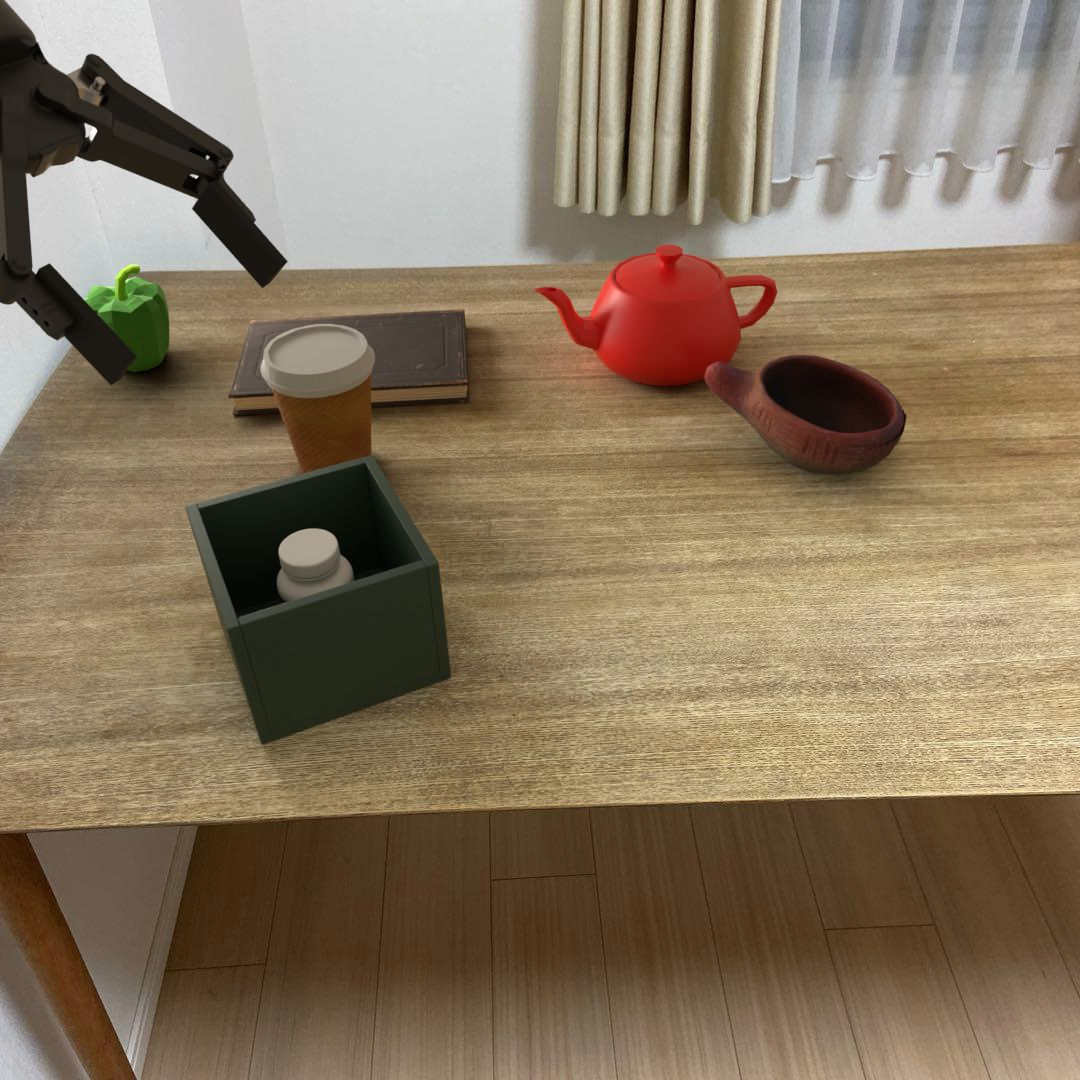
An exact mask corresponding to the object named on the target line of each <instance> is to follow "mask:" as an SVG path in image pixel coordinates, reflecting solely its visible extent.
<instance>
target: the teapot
mask: <svg viewBox="0 0 1080 1080" xmlns="http://www.w3.org/2000/svg"><path fill="white" fill-rule="evenodd" d="M654 251H655V252H650V253H644V254H640V255H634V256H631V257H629V258H626V259H625V260H623V261H620V262H618V263H617V264H616V265H615V266H614V267H613V269H612V270H611V271H610V273H609V275H608V276H607V278H606V280H605V281H604V283H603V285H602V287H601V289H600V291H599V294H598V296H597V297H596V300H595V302H594V305H593V306H592V308H591V312H590V316H580V315H579V314H578V313H577V311H576V310H575V308H574V305H573V303H572V300H571V299H570V297H569V296H568V295H567V294H566V292H565V290H563V289H560V288H558V287H555V286H542V287H537V288H535V289H534V290H533V291H534V292H535V293H538V294H539V295H541V296H542V297H544V298H545V299H546V300H547V301H549V302H550V303H551V304H553V305H554V306H555V307H556V309H557V312H558V314H559V317H560V320H561V323H562V325H563V327H564V328H565V330H566V332H567V334H568V335H569V337H570V339H571V341H572V342H573V343H574V344H576V345H578V346H580V347H585V348H588V349H592V350H593V352H594V353H595V354H596V356H597V358H598V359H599V361H601V362H602V364H603V365H604V366H605V367H606V368H607V369H608V370H609V371H610V372H612V373H614V374H616V375H618V376H620V377H622V378H625V379H627V380H628V381H631V382H633V383H638V384H642V385H648V386H652V387H678V386H683V385H688V384H691V383H695V382H699V381H703V380H705V377H704V376H705V373H706V370H707V367H708V366H710V364H713V363H716V362H718V361H719V362H723V363H726V364H730V363H731V361H732V359H733V357H734V355H735V353H736V351H737V350H738V348H739V345H740V343H741V340H742V329H743V330H744V329H746V328H749V327H753V326H754V325H755V324H756V323H758V322H759V321H760V320H761V319H762V318H763V317H765V315H767V313H768V312H769V310H771V307H772V306H773V305H774V304H775V302H776V301H775V300H776V298H777V296H778V295H777V294H778V288H777V284H776V280H775V279H773V278H772V277H768V276H766V275H764V274H742V275H731V276H726V274H725V273H724V271H723V270H722V269H721V268H720V267H719V266H718V265H716V264H715V263H713V262H712V261H711V260H710V261H709V260H707V259H704V258H702V257H699V256H697V255H692V254H686V253H684V250H683V248H682V247H681V246H679V245H677V244H670V243H669V244H668V243H667V244H665V243H664V244H661V245H658V246H656V247H655V250H654ZM745 287H763V288H764V289H763V293H762V296H761V297H760V298H759V300H758V301H757V302H756V304H755V306H754V307H753V308H751V310H750V311H749V312H747V314H744V315H740V316H739V313H738V309H737V306H736V303H735V300H734V297H733V294H732V291H731V289H735V288H745Z"/></svg>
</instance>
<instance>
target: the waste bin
mask: <svg viewBox="0 0 1080 1080" xmlns="http://www.w3.org/2000/svg"><path fill="white" fill-rule="evenodd" d="M184 508H185V512H186V515H187V518H188V522H189V524H190V528H191V531H192V534H193V538H194V541H195V545H196V547H197V551H198V554H199V558H200V560H201V561H200V562H201V565H202V568H203V570H204V574H205V577H206V580H207V583H208V586H209V591H210V593H211V596H212V600H213V603H214V606H215V609H216V613H217V616H218V619H219V622H220V626H221V628H222V631H223V634H224V638H225V640H226V643H227V647H228V649H229V652H230V655H231V658H232V661H233V664H234V667H235V671H236V673H237V676H238V679H239V682H240V685H241V688H242V691H243V694H244V697H245V700H246V702H247V706H248V709H249V712H250V715H251V718H252V721H253V724H254V727H255V731H256V734H257V735H258V736H257V737H258V739H259V741H260V745H266V744H268V743H271V742H275V741H276V740H277V741H278V740H279V739H282V738H284V737H287V736H291V735H293V734H296V733H300V732H302V731H305V730H308V729H310V728H313V727H315V726H318V725H321V724H324V723H327V722H330V721H332V720H337V719H338V718H342V717H344V716H347V715H349V714H352V713H356V712H358V711H361V710H364V709H367V708H369V707H371V706H375V705H378V704H380V703H383V702H386V701H389V700H392V699H394V698H397V697H400V696H404V695H406V694H408V693H411V692H414V691H417V690H419V689H423V688H426V687H429V686H431V685H434V684H437V683H439V682H443V681H445V680H448V679H450V678H452V673H451V664H450V663H451V662H450V654H449V645H448V644H449V643H448V635H447V625H446V616H445V609H444V599H443V589H442V579H441V571H440V563H439V561H438V559H437V558H436V555H434V553H433V551H432V549H431V548H430V546H429V544H428V543H427V542H426V540H425V538H424V536H423V535H422V533H421V532H420V530H419V529H418V527H417V525H416V523H415V522H414V520H413V519H412V517H411V516H410V514H409V512H408V511H407V509H406V507H405V506H404V504H403V502H402V501H401V499H400V498H399V496H398V494H397V493H396V491H395V490H394V488H393V486H392V484H391V483H390V481H389V480H388V478H387V476H386V475H385V473H384V471H383V470H382V468H381V467H380V465H379V464H378V462H377V460H376V458H375V457H374V455H373V454H371V455H369V456H366V457H362V458H358V459H355V460H351V461H347V462H344V463H340V464H336V465H333V466H329V467H325V468H322V469H318V470H314V471H311V472H307V473H303V474H302V473H300V474H296V475H292V476H289V477H286V478H282V479H278V480H274V481H271V482H268V483H264V484H259V485H256V486H252V487H249V488H245V489H241V490H238V491H234V492H230V493H227V494H222V495H219V496H215V497H212V498H208V499H205V500H200V501H198V502H195V503H189V504H187V505H185V506H184ZM305 529H322V530H326V531H328V532H330V533H332V534H333V535H334V536H335V538H336V539H337V542H338V546H339V550H340V555H342V556H343V557H345V558H346V559H347V560H348V562H349V563H350V565H351V567H352V570H353V574H354V579H355V581H353V582H350V583H347V584H344V585H340V586H337V587H334V588H331V589H328V590H325V591H321V592H318V593H315V594H312V595H309V596H305V597H302V598H299V599H296V600H293V601H289V602H286V603H283V604H281V601H280V597H279V593H278V589H277V577H278V574H279V572H280V570H281V568H282V567H281V564H280V558H279V547H280V545H281V543H282V542H283V540H284V539H285V538H287V537H288V536H289V535H291V534H293V533H295V532H297V531H301V530H305Z"/></svg>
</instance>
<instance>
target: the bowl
mask: <svg viewBox="0 0 1080 1080" xmlns="http://www.w3.org/2000/svg"><path fill="white" fill-rule="evenodd" d="M704 377H705V379H704V382H705V383H706V385H707V386H708V388H709V389H710V391H711V392H712V393H713V394H714V395H715V396H716V397H717V398H719V399H720V400H721V401H722V402H723V403H725V404H726V405H727V406H728V407H730V408H731V409H732V410H733V411H735V412H736V413H737V414H739V416H741V418H743V419H744V420H745V421H746V422H748V424H749V426H751V427H752V428H753V429H754V430H755V431H756V432H757V434H758V436H760V438H761V439H762V440H763V441H764V442H765V444H766V445H767V446H768V447H769V448H770V449H771V450H772V451H773V452H774V453H775V454H776V455H777V456H778V457H780V458H781V459H782V460H784V461H786V462H787V463H789V464H790V465H792V466H794V467H795V468H798V469H799V470H803V471H806V472H808V473H814V474H821V475H831V476H833V475H835V476H836V475H846V474H847V475H848V474H855V473H860V472H863V471H867V470H869V469H871V468H873V467H875V466H877V465H879V464H880V463H881V462H883V461H884V460H885V459H886V458H888V457H889V455H890V454H891V453H892V452H893V451H894V449H895V447H896V446H897V445H898V444H899V442H900V441H901V438H902V436H903V434H904V431H905V427H906V422H907V414H906V412H905V410H904V408H902V406H901V403H900V401H899V400H898V398H896V396H895V395H894V394H893V393H892V392H891V390H889V388H888V387H887V386H885V385H884V384H883V383H882V382H880V381H879V380H878V379H877V378H874V377H873V376H871V375H869V374H867V373H866V372H863V371H862V370H859V369H857V368H856V367H853V366H851V365H848V364H846V363H842V362H840V361H837V360H834V359H831V358H827V357H824V356H823V357H822V356H818V355H811V354H809V355H807V354H787V355H782V356H779V357H776V358H774V359H771V360H770V361H768V362H766V363H764V364H763V365H762V366H760V367H759V368H758V369H753V370H750V371H749V370H748V371H747V370H743V369H740V368H738V367H735V366H733V365H732V364H730V363H728V364H726V363H723V362H719V361H718V362H716V363H713V364H710V366H708V367H707V370H706V373H705V376H704Z"/></svg>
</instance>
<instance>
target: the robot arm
mask: <svg viewBox="0 0 1080 1080" xmlns="http://www.w3.org/2000/svg"><path fill="white" fill-rule="evenodd" d="M85 124H86V125H88V126H91V127H92V129H91V131H90V133H89V135H87V130H86V125H85ZM86 135H87V136H86ZM207 156H208V158H207ZM76 157H77V158H79V159H82V160H84V161H86V162H90V163H94V162H98V161H101V162H105V163H107V164H109V165H111V166H114V167H117V168H119V169H121V170H125V171H127V172H129V173H132V174H134V175H137V176H139V177H141V178H144V179H147V180H148V181H152V182H154V183H157V184H159V185H161V186H164V187H166V188H170V189H172V190H174V191H176V192H179V193H182V194H184V195H186V196H189V197H191V198H194V199H196V201H195V203H194V204H193V206H192V207H191V210H192V211H193V212H194V213H195V215H197V216H198V218H199V219H200V220H201V222H203V223H204V225H206V227H207V228H208V229H209V230H210V231H211V232H212V233H213V235H214V236H215V237H216V238H217V239H218V240H219V242H220V243H221V244H222V245H223V246H224V247H225V248H226V249H227V251H228V252H229V253H230V254H231V255H232V256H233V257H234V258H235V260H236V261H238V263H239V264H240V265H241V266H242V267H243V268H244V269H245V271H246V272H247V273H248V274H249V275H250V277H251V278H253V280H254V281H255V282H256V283H257V284H258V285H259V286H260V288H261V289H263V288H265V287H266V286H268V285H270V284H271V282H272V281H273V280H274V279H275V278H276V276H277V275H278V274H279V273H280V272H281V271H282V269H283V268H284V267H285V266H286V265H287V264H288V260H287V259H286V257H285V256H284V255H283V253H281V251H279V250H278V248H277V247H276V246H275V245H274V244H273V242H272V241H271V240H270V239H269V238H268V237H267V236H266V234H265V233H264V232H263V231H262V230H261V229H260V228H259V227H258V225H257V224H256V223H255V222H256V221H257V219H256V217H255V215H254V213H253V211H252V210H251V209H250V208H249V207H248V206H247V205H246V203H245V202H244V201H243V200H242V199H241V198H240V197H239V196H238V194H237V193H236V192H235V191H234V190H233V188H232V187H231V186H230V185H229V184H228V183H227V181H226V179H225V177H224V175H225V172H226V171H227V169H228V167H229V166H230V165H231V163H232V161H233V159H234V152H233V150H232V149H231V148H230V147H228V146H227V145H225V144H224V143H222V142H221V141H219V140H217V139H216V138H215V137H213V136H211V135H210V134H208V133H207V132H205V131H203V130H202V129H201V128H200V127H197V126H196V125H194V124H193V123H192V122H189V120H186V119H185V118H183V117H182V116H180V115H178V114H177V113H176V112H174V111H172V110H171V109H169V108H168V107H166V106H165V105H163V104H161V103H160V102H159V101H157V100H155V99H154V98H152V97H150V96H149V95H147V94H146V93H145V92H143V91H141V90H139V88H137V87H135V86H133V85H132V84H130V83H129V82H127V81H126V80H124V79H123V77H121V76H120V74H119V73H118V72H116V71H115V70H114V69H113V68H112V66H111V65H109V63H107V61H105V60H104V59H103V58H102V57H101V56H99V55H97V54H95V53H87V55H85V58H84V60H83V62H82V64H81V66H80V67H79V68H77V69H75V70H73V71H71V72H70V73H68V74H66V73H65V72H63V71H61V70H60V69H58V68H57V67H55V66H53V64H51V63H50V62H49V61H48V60H47V58H46V57H45V55H44V53H43V51H42V48H41V46H40V44H39V41H38V38H37V36H36V35H35V32H34V31H33V30H32V29H31V27H29V25H28V24H27V23H26V22H25V21H24V20H23V19H22V18H21V16H20V15H19V14H18V13H17V12H16V11H15V10H14V9H13V8H12V7H11V5H10V4H9V3H8V2H7V1H6V0H0V304H3V305H13V304H15V303H16V304H17V305H18V306H19V308H21V309H22V310H23V311H24V312H25V313H26V315H27V316H29V317H30V318H31V320H32V321H34V323H35V324H36V325H37V326H38V327H40V329H41V330H42V331H43V332H44V333H45V334H46V336H48V337H50V338H52V339H53V340H55V341H57V342H58V341H59V340H61V339H63V338H65V339H66V340H67V341H68V342H69V343H70V344H71V345H72V346H73V348H75V350H76V351H77V352H78V353H79V354H80V355H81V356H82V357H83V358H84V359H85V360H86V362H88V363H89V364H90V365H91V366H92V367H93V368H94V369H95V371H96V372H97V373H98V374H99V375H100V376H101V377H102V378H103V379H104V380H105V381H106V382H107V384H109V385H110V386H113V385H114V384H116V383H117V382H119V381H120V380H122V379H123V377H124V376H125V374H126V373H127V371H128V368H129V367H130V366H131V364H132V363H133V362H134V360H135V359H136V357H137V356H136V355H135V354H134V353H133V352H132V351H131V350H130V348H129V347H128V346H127V345H126V344H125V343H124V342H123V341H122V340H121V339H120V338H119V337H118V336H117V335H116V333H115V332H114V331H113V330H112V329H111V328H110V327H109V326H108V325H107V324H106V323H105V322H104V321H103V320H102V319H101V317H100V316H99V315H98V314H97V313H96V312H95V311H94V310H93V309H92V308H91V307H90V306H89V305H88V304H87V302H86V301H85V300H84V299H85V298H83V297H82V296H81V295H80V294H79V293H78V292H77V290H76V289H75V288H73V286H72V285H71V284H70V283H69V282H68V281H67V280H66V279H65V278H64V277H63V276H62V274H61V273H60V272H58V270H57V269H56V268H55V266H53V265H52V264H51V263H47V264H45V265H43V266H41V267H39V268H38V269H37V271H36V273H35V272H34V271H33V267H34V266H33V265H34V264H33V252H32V251H33V250H32V240H31V239H32V237H31V226H30V225H31V224H30V223H31V222H30V211H29V197H28V184H27V183H28V182H27V175H30V176H31V178H36V177H38V176H40V175H43V174H45V173H46V172H47V171H48V170H49V169H50V168H51V167H55V166H64V165H66V164H70V163H71V162H74V161H75V159H76ZM192 175H193V176H196V177H193V176H192Z"/></svg>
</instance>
